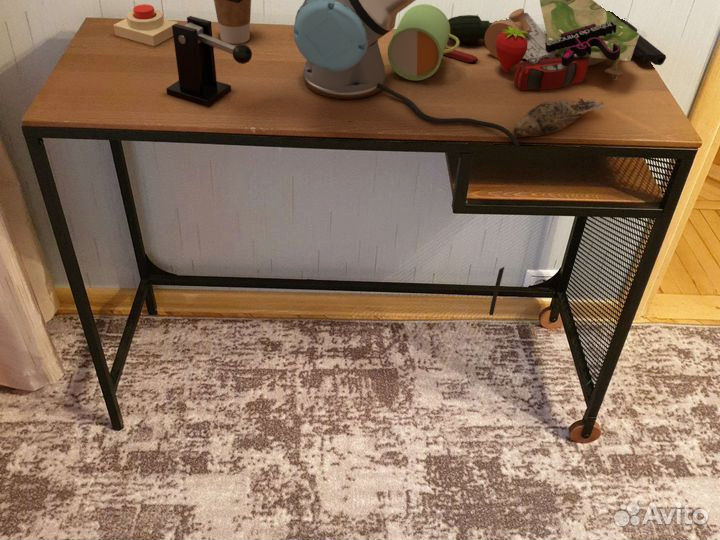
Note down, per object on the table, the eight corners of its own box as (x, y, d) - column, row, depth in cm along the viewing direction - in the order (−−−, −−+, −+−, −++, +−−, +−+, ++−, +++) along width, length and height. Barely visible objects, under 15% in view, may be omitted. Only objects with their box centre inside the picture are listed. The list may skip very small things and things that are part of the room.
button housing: (179, 32, 149) (177, 13, 146) (154, 46, 143) (151, 27, 141) (141, 22, 152) (138, 3, 149) (115, 35, 146) (111, 16, 144)
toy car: (516, 54, 135) (527, 67, 131) (586, 53, 139) (599, 65, 135) (508, 80, 138) (519, 94, 135) (577, 79, 142) (589, 92, 139)
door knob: (499, 6, 149) (515, 41, 153) (478, 29, 144) (494, 64, 147) (532, -6, 143) (548, 30, 147) (511, 18, 138) (528, 54, 142)
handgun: (696, 73, 150) (640, 66, 144) (621, 17, 170) (569, 8, 164) (705, 57, 148) (648, 49, 142) (628, 2, 168) (576, -7, 162)
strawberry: (515, 62, 145) (524, 13, 138) (526, 79, 139) (537, 29, 133) (486, 62, 144) (495, 13, 137) (497, 80, 138) (506, 29, 132)
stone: (572, 51, 143) (524, 62, 142) (570, 66, 146) (523, 77, 145) (527, 4, 158) (484, 14, 157) (526, 19, 161) (484, 28, 160)
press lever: (255, 62, 122) (256, 44, 120) (244, 69, 120) (245, 51, 118) (191, 36, 125) (191, 18, 123) (180, 42, 123) (179, 25, 121)
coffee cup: (207, 43, 145) (200, -34, 136) (223, 27, 152) (217, -47, 142) (247, 49, 144) (242, -28, 134) (261, 32, 150) (258, -42, 141)
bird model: (503, 106, 120) (497, 132, 123) (530, 121, 117) (523, 148, 120) (585, 80, 130) (577, 105, 134) (611, 93, 127) (603, 119, 130)
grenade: (442, 43, 152) (497, 45, 154) (448, 42, 146) (506, 43, 148) (443, 15, 151) (499, 17, 152) (450, 13, 145) (508, 14, 146)
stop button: (159, 15, 146) (158, 7, 145) (146, 22, 143) (145, 13, 142) (143, 11, 147) (142, 2, 146) (130, 17, 144) (128, 9, 143)
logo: (610, 18, 137) (635, 46, 130) (610, 25, 138) (634, 54, 132) (543, 39, 137) (564, 69, 131) (543, 46, 138) (564, 76, 132)
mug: (399, 55, 146) (387, 80, 137) (399, 3, 140) (387, 26, 131) (461, 58, 144) (454, 84, 135) (464, 6, 137) (456, 29, 128)
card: (552, -15, 154) (552, -19, 153) (671, 2, 141) (672, -2, 140) (502, 46, 144) (501, 42, 143) (625, 70, 131) (625, 66, 131)
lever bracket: (231, 91, 131) (226, 22, 122) (208, 107, 126) (201, 36, 117) (190, 79, 134) (182, 10, 125) (166, 94, 129) (156, 24, 120)
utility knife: (474, 64, 143) (478, 61, 145) (475, 59, 143) (479, 56, 144) (422, 49, 148) (427, 46, 149) (423, 44, 147) (427, 41, 148)
